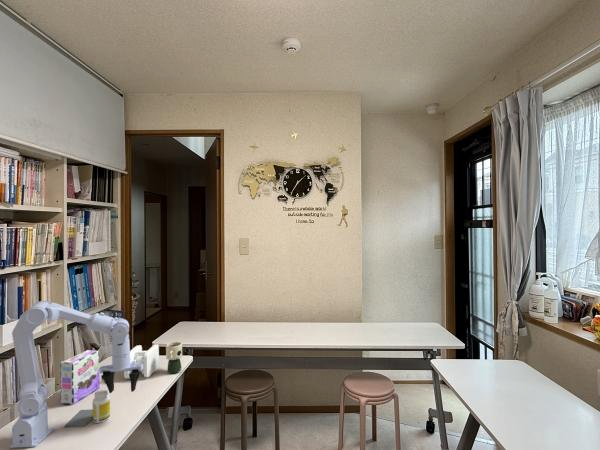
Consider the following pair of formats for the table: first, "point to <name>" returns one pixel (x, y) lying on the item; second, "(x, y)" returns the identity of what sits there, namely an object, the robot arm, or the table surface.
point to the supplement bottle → (101, 406)
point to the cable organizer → (144, 359)
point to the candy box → (79, 376)
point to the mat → (81, 418)
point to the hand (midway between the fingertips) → (122, 391)
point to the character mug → (174, 356)
